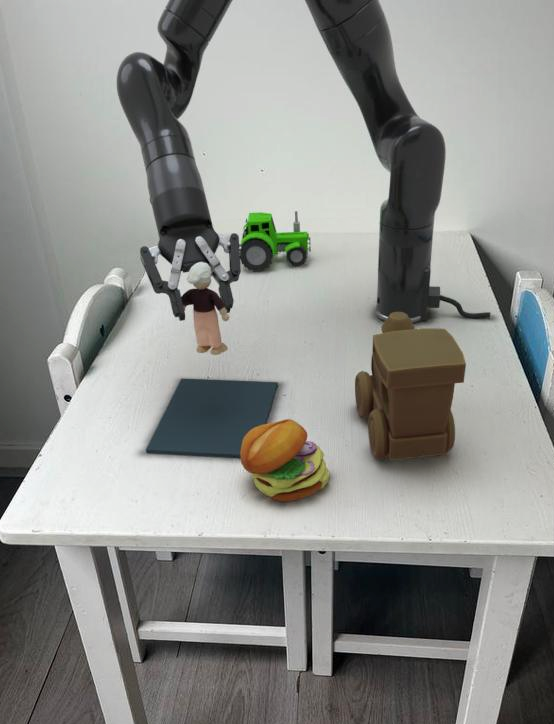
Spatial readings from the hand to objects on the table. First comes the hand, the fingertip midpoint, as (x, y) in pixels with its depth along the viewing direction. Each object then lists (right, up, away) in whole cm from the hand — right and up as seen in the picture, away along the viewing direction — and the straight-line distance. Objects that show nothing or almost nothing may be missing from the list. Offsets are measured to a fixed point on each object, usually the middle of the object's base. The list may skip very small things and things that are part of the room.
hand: (205, 314), depth 100 cm
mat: (0, -13, +12) cm, 18 cm away
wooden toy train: (+28, -16, +7) cm, 33 cm away
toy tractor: (+9, +25, +59) cm, 65 cm away
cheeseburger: (+11, -23, -1) cm, 25 cm away
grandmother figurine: (0, -4, +5) cm, 7 cm away
